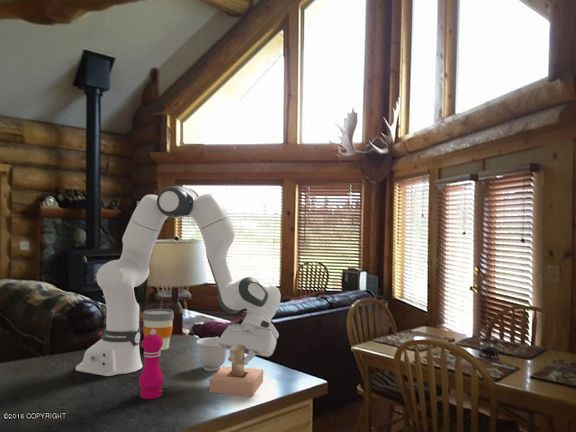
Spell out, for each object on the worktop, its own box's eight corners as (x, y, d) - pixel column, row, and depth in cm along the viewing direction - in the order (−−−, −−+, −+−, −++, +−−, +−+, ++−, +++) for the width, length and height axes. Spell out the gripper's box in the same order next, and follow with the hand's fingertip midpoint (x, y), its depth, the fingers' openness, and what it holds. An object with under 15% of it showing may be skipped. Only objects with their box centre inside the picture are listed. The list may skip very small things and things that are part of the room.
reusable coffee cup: (148, 343, 207) (149, 308, 207) (177, 344, 205) (178, 309, 206) (136, 350, 194) (137, 313, 194) (166, 352, 193) (167, 315, 193)
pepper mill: (156, 401, 142) (158, 332, 142) (133, 398, 143) (135, 331, 143) (167, 392, 149) (169, 327, 149) (145, 390, 150) (147, 326, 150)
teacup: (232, 362, 182) (233, 335, 182) (226, 374, 167) (227, 346, 167) (200, 361, 182) (201, 334, 182) (191, 373, 167) (192, 344, 168)
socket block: (209, 392, 150) (209, 379, 150) (222, 378, 164) (223, 366, 164) (252, 396, 147) (253, 383, 147) (263, 381, 161) (263, 369, 161)
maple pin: (229, 381, 154) (230, 347, 154) (233, 377, 158) (234, 344, 158) (241, 382, 153) (242, 348, 153) (245, 378, 157) (246, 345, 157)
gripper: (226, 317, 167) (207, 352, 158) (276, 325, 157) (259, 362, 148) (233, 328, 171) (215, 362, 162) (283, 336, 160) (266, 373, 152)
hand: (236, 362), depth 155 cm, fingers closed on maple pin, 4 cm apart
